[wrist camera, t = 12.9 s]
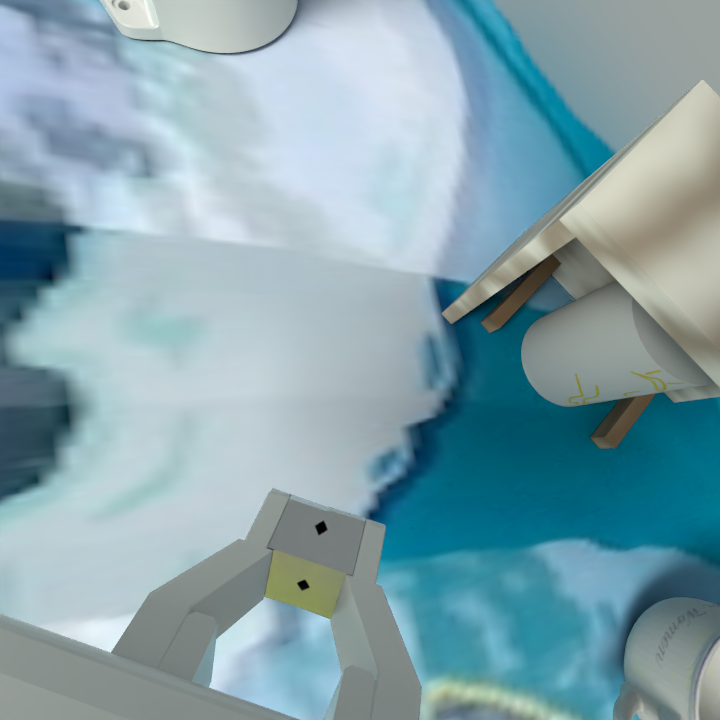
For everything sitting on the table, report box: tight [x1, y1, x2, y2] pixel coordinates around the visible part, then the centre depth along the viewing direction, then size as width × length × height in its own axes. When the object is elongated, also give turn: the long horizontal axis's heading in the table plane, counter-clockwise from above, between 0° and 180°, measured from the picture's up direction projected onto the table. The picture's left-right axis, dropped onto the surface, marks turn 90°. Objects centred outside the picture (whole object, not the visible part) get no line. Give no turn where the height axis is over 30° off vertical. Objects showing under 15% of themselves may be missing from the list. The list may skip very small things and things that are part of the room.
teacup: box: [613, 597, 720, 720], centre depth 31 cm, size 14×11×8 cm
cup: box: [521, 280, 715, 407], centre depth 33 cm, size 8×8×12 cm
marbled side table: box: [441, 80, 720, 448], centre depth 31 cm, size 20×12×17 cm, turn 45°
